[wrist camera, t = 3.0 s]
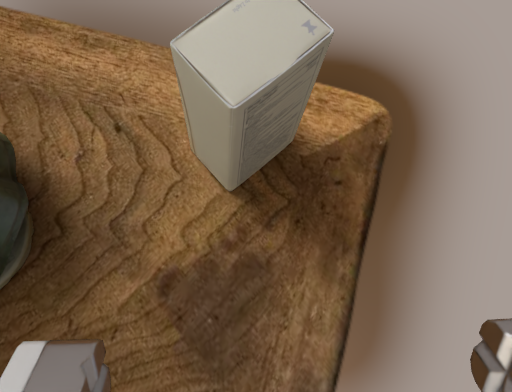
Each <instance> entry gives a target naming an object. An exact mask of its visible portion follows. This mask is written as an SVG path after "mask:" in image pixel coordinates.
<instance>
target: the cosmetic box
mask: <svg viewBox="0 0 512 392" xmlns="http://www.w3.org/2000/svg"><path fill="white" fill-rule="evenodd" d="M333 34H334V29H332V28H331V27H330V26H329V25H328V24H327V23H326V22H325V21H324V20H323V19H322V18H321V17H320V16H319V15H318V14H316V12H315V11H314V10H312V9H311V8H310V7H309V6H308V5H307V4H306V3H305V2H304V1H303V0H227V1H226V2H224V3H223V4H221V5H220V6H219V7H217V8H216V9H214V10H212V12H210V13H209V14H207V15H206V16H205V17H203V18H202V19H200V20H199V21H197V22H196V23H195V24H194V25H192V26H191V27H189V28H188V29H187V30H185V31H184V32H182V33H181V34H180V35H178V36H177V37H176V38H175V39H173V40H172V41H171V42H170V45H171V51H172V56H173V60H174V65H175V70H176V75H177V81H178V86H179V91H180V96H181V101H182V105H183V111H184V116H185V121H186V126H187V131H188V136H189V141H190V147H191V150H192V151H193V153H194V154H195V155H196V156H197V157H198V158H199V159H200V161H201V162H202V163H203V164H204V165H205V166H206V167H207V169H208V170H209V171H210V172H211V173H212V174H213V175H214V176H215V177H216V179H217V180H218V181H219V182H220V183H221V184H222V185H223V186H224V187H225V188H226V189H227V190H228V191H232V190H234V189H235V188H236V187H238V186H239V185H240V184H241V183H243V182H244V181H245V180H247V179H248V178H249V177H250V176H252V175H253V174H254V173H255V172H256V171H258V170H259V169H260V168H261V167H263V166H264V165H265V164H266V163H267V162H269V161H270V160H271V159H272V158H273V157H275V156H276V155H277V154H278V153H279V152H280V151H282V150H283V149H284V148H285V147H286V146H287V145H288V144H290V143H291V142H292V141H293V139H294V136H295V134H296V131H297V128H298V126H299V123H300V120H301V118H302V115H303V113H304V110H305V107H306V105H307V102H308V99H309V97H310V94H311V91H312V89H313V86H314V83H315V81H316V78H317V76H318V73H319V70H320V67H321V65H322V62H323V60H324V57H325V54H326V52H327V49H328V47H329V44H330V41H331V39H332V36H333Z"/></svg>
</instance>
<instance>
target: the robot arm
mask: <svg viewBox="0 0 512 392" xmlns="http://www.w3.org/2000/svg"><path fill="white" fill-rule="evenodd" d="M479 334H480V336H481V338H482V339H483V340H482V341H481V342H480V343H479V344H478V345H477V346H475V347H474V349H473V352H472V355H471V359H470V361H471V370H472V374H473V377H474V379H475V382H476V384H477V385H478V387H479V388H480V390H481V392H512V318H511V319H495V320H487V321H486V322H485V323H483V324H482V326H481V329H480V332H479ZM105 353H106V351H105V347H104V343H103V340H101V339H82V340H50V341H24V342H22V343H21V344H20V345H19V346H18V347H17V348H16V350H15V352H14V354H13V355H12V357H11V359H10V361H9V363H8V365H7V367H6V368H5V370H4V372H3V374H2V376H1V378H0V392H111V376H110V371H109V367H107V366H106V365H105V364H104V363H103V361H104V357H105Z"/></svg>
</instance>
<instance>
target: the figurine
mask: <svg viewBox="0 0 512 392" xmlns="http://www.w3.org/2000/svg"><path fill="white" fill-rule="evenodd" d="M28 204H29V202H28V198H27V194H26V191H25V189H24V187H23V185H22V184H20V183H19V182H18V181H17V177H16V159H15V153H14V148H13V146H12V144H11V142H10V141H9V140H8V138H7V137H6V136H5V135H4V134H2V133H1V132H0V289H1V288H2V287H3V286H4V285H6V284H7V283H8V282H9V281H10V279H11V277H13V276H14V274H15V273H16V272H17V271H18V270H20V268H21V267H22V266H23V264H24V263H25V260H26V258H27V257H28V255H29V252H30V250H31V242H32V238H31V236H32V235H33V233H34V228H33V222H32V221H33V219H32V215H31V213H29V212H28V208H27V207H28Z"/></svg>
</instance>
